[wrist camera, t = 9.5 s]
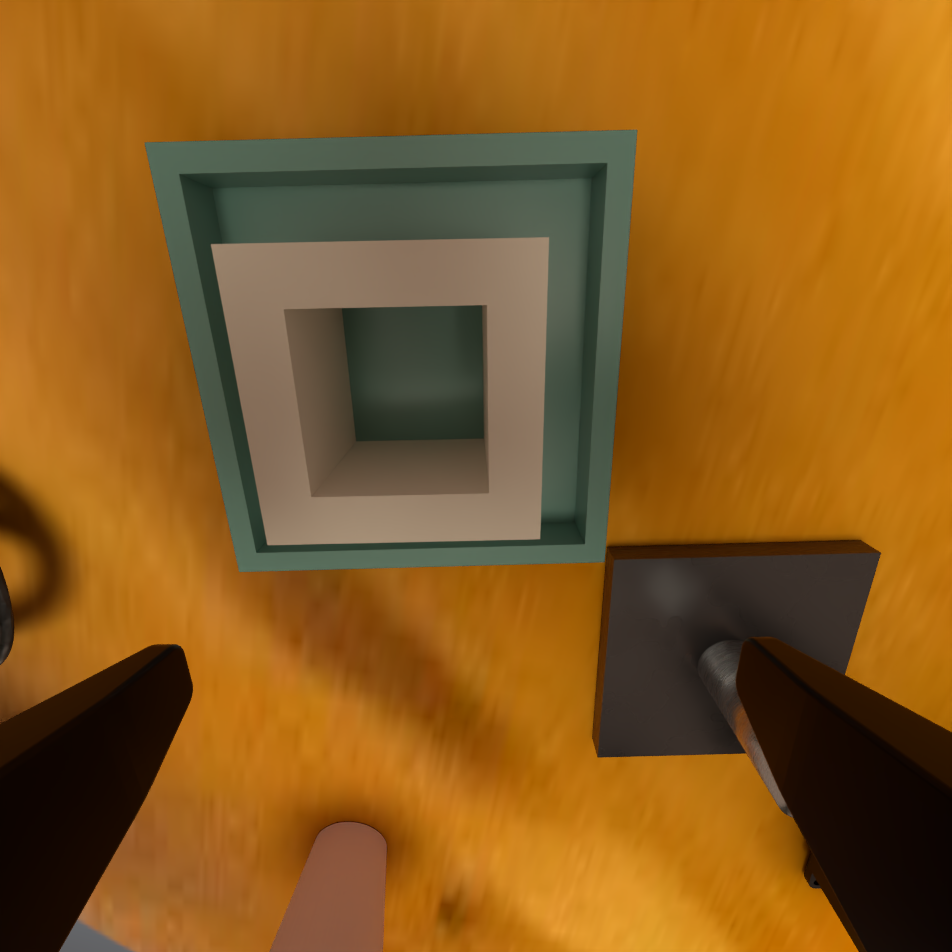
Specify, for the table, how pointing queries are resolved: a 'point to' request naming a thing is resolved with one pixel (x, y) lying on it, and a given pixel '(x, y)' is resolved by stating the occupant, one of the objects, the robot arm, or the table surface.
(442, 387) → the tray
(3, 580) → the milk frother
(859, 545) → the metal post stand
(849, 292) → the table surface
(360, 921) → the smoothie
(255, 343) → the collar
